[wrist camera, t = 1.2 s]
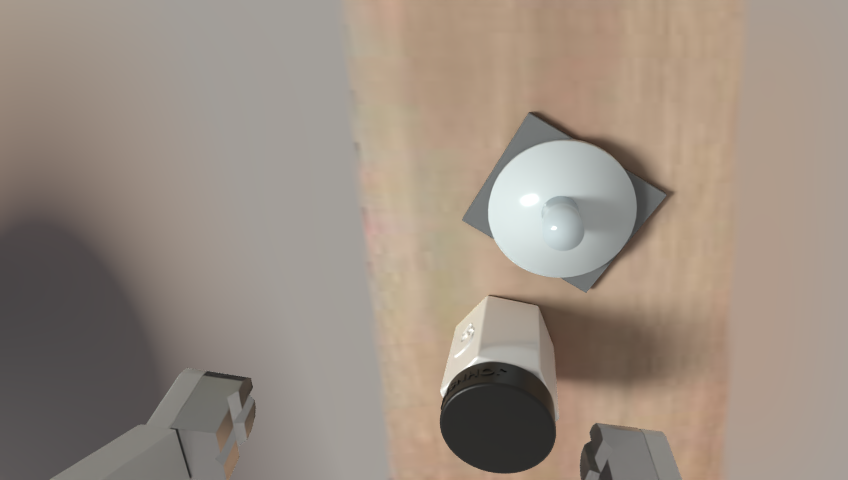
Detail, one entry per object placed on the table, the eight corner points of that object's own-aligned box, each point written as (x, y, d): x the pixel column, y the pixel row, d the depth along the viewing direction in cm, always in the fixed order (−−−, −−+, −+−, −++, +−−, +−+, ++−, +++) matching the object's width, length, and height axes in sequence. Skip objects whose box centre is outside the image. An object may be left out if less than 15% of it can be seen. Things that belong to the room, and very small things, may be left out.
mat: (664, 192, 38) (666, 195, 37) (585, 288, 42) (586, 292, 41) (529, 111, 38) (529, 113, 37) (463, 217, 42) (462, 220, 41)
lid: (665, 186, 37) (685, 209, 32) (577, 293, 42) (583, 327, 37) (538, 110, 37) (540, 122, 32) (464, 228, 41) (455, 253, 37)
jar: (501, 276, 43) (492, 358, 32) (572, 332, 44) (586, 430, 33) (439, 338, 47) (412, 431, 36) (506, 389, 48) (499, 494, 37)
